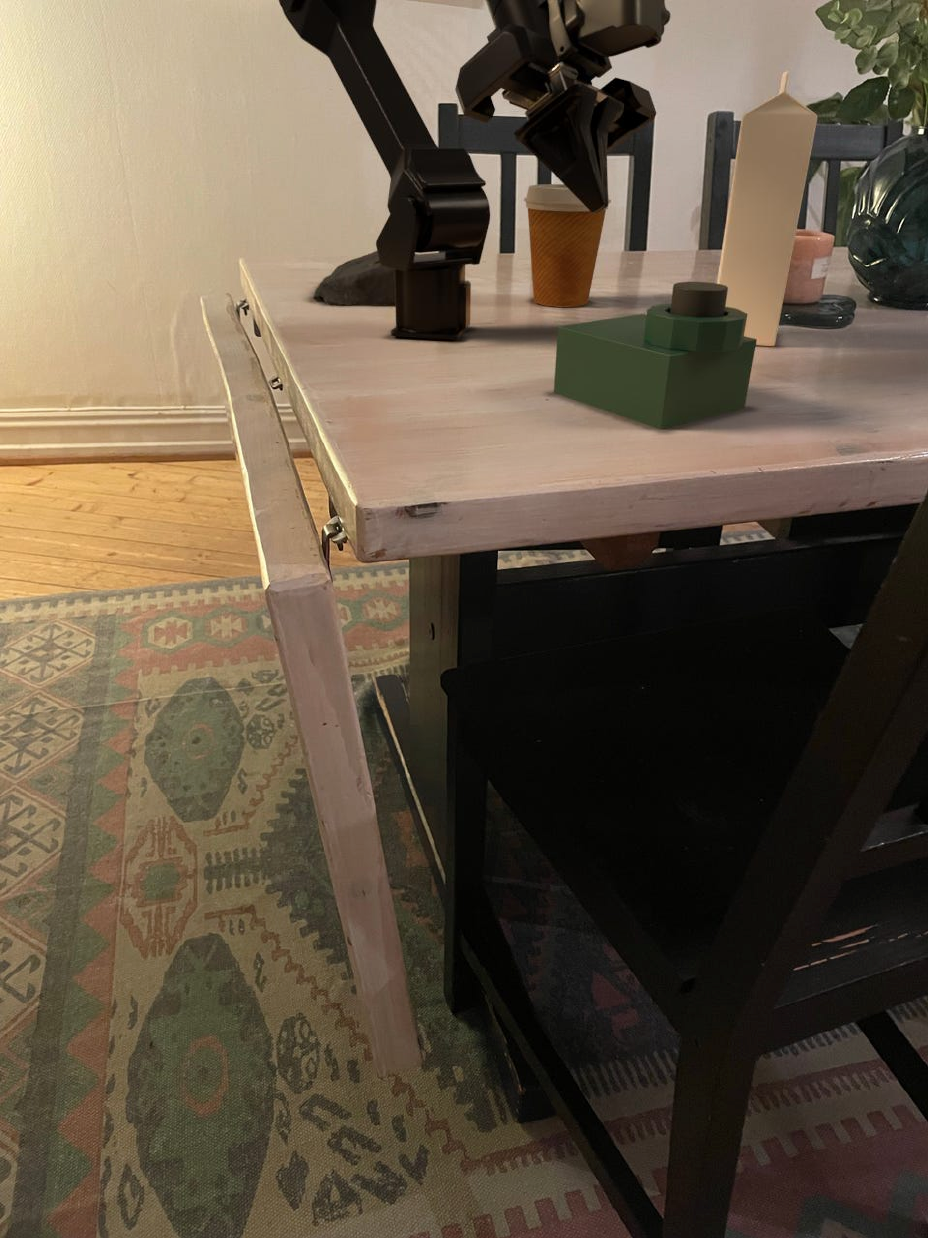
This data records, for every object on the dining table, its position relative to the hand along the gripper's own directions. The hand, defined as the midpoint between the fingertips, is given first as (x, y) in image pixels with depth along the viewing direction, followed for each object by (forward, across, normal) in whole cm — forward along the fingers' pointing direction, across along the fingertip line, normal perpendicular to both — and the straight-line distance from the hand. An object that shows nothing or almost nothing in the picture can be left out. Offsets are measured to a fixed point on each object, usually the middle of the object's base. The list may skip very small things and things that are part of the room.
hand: (600, 209), depth 63 cm
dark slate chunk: (-15, +22, +40) cm, 48 cm away
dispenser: (+14, 0, +2) cm, 14 cm away
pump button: (+11, -2, -5) cm, 12 cm away
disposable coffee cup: (-5, +30, +22) cm, 37 cm away
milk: (+9, +26, +2) cm, 27 cm away
